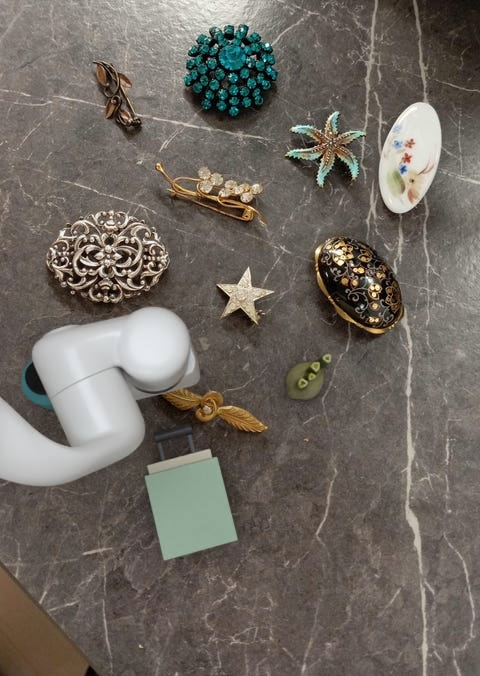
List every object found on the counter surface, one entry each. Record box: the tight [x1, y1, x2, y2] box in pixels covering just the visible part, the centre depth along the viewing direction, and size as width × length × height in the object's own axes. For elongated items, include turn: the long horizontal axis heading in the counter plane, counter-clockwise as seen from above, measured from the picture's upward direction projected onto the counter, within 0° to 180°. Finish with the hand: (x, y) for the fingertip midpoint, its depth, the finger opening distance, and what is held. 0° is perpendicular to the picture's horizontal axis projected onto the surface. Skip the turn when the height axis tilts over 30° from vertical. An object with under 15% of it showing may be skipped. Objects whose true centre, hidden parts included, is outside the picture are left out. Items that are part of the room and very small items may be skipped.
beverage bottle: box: [20, 358, 55, 413], centre depth 113 cm, size 6×7×20 cm
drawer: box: [146, 422, 213, 475], centre depth 117 cm, size 13×8×7 cm, turn 15°
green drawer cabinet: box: [144, 456, 239, 562], centre depth 116 cm, size 10×9×8 cm
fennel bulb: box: [284, 353, 333, 401], centre depth 119 cm, size 6×5×12 cm
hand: (156, 379), depth 117 cm, fingers closed
